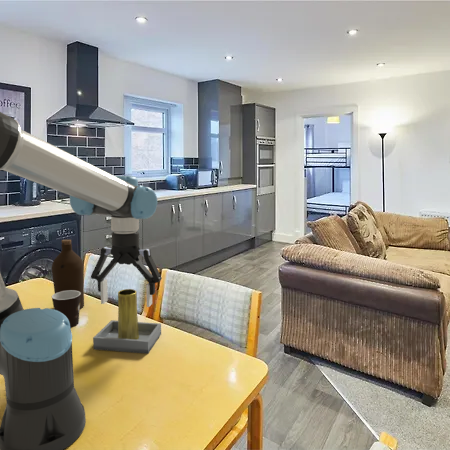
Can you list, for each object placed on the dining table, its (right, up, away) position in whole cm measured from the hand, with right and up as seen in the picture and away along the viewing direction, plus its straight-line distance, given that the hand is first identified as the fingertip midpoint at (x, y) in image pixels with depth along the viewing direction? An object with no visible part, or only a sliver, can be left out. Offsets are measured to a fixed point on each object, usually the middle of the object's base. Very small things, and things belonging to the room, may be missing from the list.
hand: (126, 303), depth 107 cm
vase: (0, -11, +2) cm, 11 cm away
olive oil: (-28, -7, +28) cm, 40 cm away
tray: (0, -12, +2) cm, 12 cm away
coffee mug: (-22, -9, +15) cm, 29 cm away
